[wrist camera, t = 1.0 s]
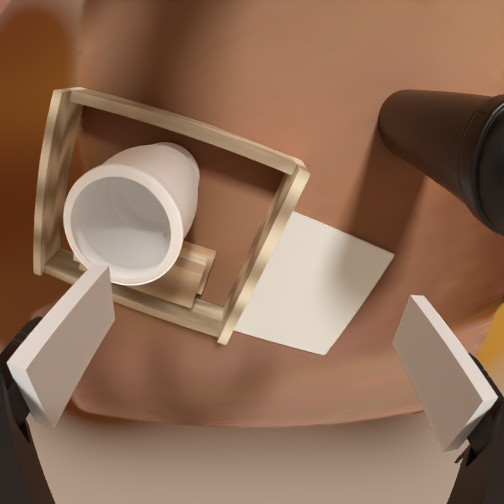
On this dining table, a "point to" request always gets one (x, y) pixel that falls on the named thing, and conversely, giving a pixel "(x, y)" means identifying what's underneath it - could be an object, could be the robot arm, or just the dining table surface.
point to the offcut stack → (179, 276)
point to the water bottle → (452, 145)
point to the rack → (73, 100)
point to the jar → (134, 211)
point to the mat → (312, 285)
